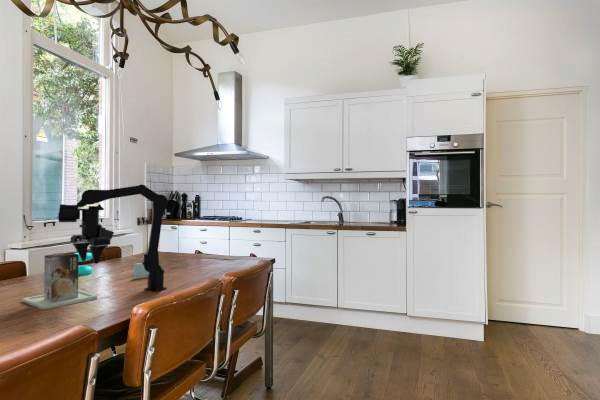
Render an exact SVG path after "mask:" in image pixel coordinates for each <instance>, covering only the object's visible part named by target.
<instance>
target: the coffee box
mask: <svg viewBox="0 0 600 400" xmlns="http://www.w3.org/2000/svg"><path fill="white" fill-rule="evenodd" d="M74 253H75V252H74ZM74 253H73V252H66V253H65V252H64V253H55V254H54V253H53V254H45V255H44V265H43V267H44V273H43V276H44V277H43V278H44V279H43V281H44V282H43V283H44V284H43V289H44V290H43V295H44V299H45V300H47V301H50V302H55V301H60V300H65V299H70V298H75V297H78V290H79V275H78V266H79V262H78V254H74Z"/></svg>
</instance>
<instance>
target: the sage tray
mask: <svg viewBox="0 0 600 400" xmlns="http://www.w3.org/2000/svg"><path fill="white" fill-rule="evenodd" d="M97 299H98V295H97V294H94V293H90V292H87V291H84V290H81V289H78V297H75V298H70V299H65V300H60V301H55V302H50V301H47V300H45V299H44V294H40V295H34V296H28V297H22V302H23V303H25V304H28V305H30V306H32V307H35V308H36V309H40V310H41V311H44V310H49V309H53V308H57V307H63V306H68V305H73V304H79V303H82V302H87V301H92V300H97Z"/></svg>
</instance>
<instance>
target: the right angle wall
mask: <svg viewBox="0 0 600 400" xmlns="http://www.w3.org/2000/svg"><path fill="white" fill-rule="evenodd" d="M148 274H150V273H149V272H147V271H146V270H145V268H144V266H143V264H142V262H141V263H139V262H138V263H134V264H133V279H134V280H137V279H144V278H148Z"/></svg>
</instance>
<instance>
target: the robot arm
mask: <svg viewBox="0 0 600 400" xmlns="http://www.w3.org/2000/svg"><path fill="white" fill-rule="evenodd" d="M137 195H141V196H142V197H144V198H145V199H147V200H148V201H150V202H151V212H152V219H151V225H150V234H149V241H148V248H147V250H146V252H142V260H141V263H142V264H143V266H144V268H145V270H146V271H147V272H149V273H150V274H148V277H147V287H144V288H143V289H144V290H146V291H150V292H157V291H162V290H166V289H167V287H166V286H164V280H165V279H164V277H165V275H164V273H165V270H164V268H163V266H161V265H160V259H159V257H160V256H159V255H160V254H159V246H160V245H159V244H160V238H161V231H162V222H163V216H164V215H165V212H166V209H167V206H168V203H169V202H168V201H169V200H168V197H167V196H166V195H164V194H158V193H157V192H155V191H153V190H152V189H150V188H149V187H147V186H146V185H145V184H139V185H133V186H125V187H119V188H113V189H87V190H85V191H83V192H82V194H81V199H80V200H79V201H78V202H77V203H76V204H59V209H58V210H59V211H58V218H57V219H58V223H77V221H78V220H81V224H79V228H81V234H72V236H70V243H72V246H73V247H74V248H75V250H76V253H78V254H79V255H80V257H81V259H82V262H87V261H86V256H87V252H88V247H89V250H90V253H91V254H92V257H93V258H92V259H93V263H94V264H99V262H100V258H101V257H102V256H101V255H102V253H103V251H104V249H105V248H107V247H109V245H111V240H112V239H113V236H114V233H115V231H112V230H109V229H106V227H103V225H102V224H100V223H99V221H100V217H99V215H100V211H104V210H105V208H104V207H103V206H102V205H101V204H100V203H101V202H104V201H107V200H111V199H116V198H118V199H119V198H122V197H130V196H137ZM98 203H99V204H98ZM95 204H98V205H95ZM87 205H89V206H88V208H84V207H86V206H87Z"/></svg>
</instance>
